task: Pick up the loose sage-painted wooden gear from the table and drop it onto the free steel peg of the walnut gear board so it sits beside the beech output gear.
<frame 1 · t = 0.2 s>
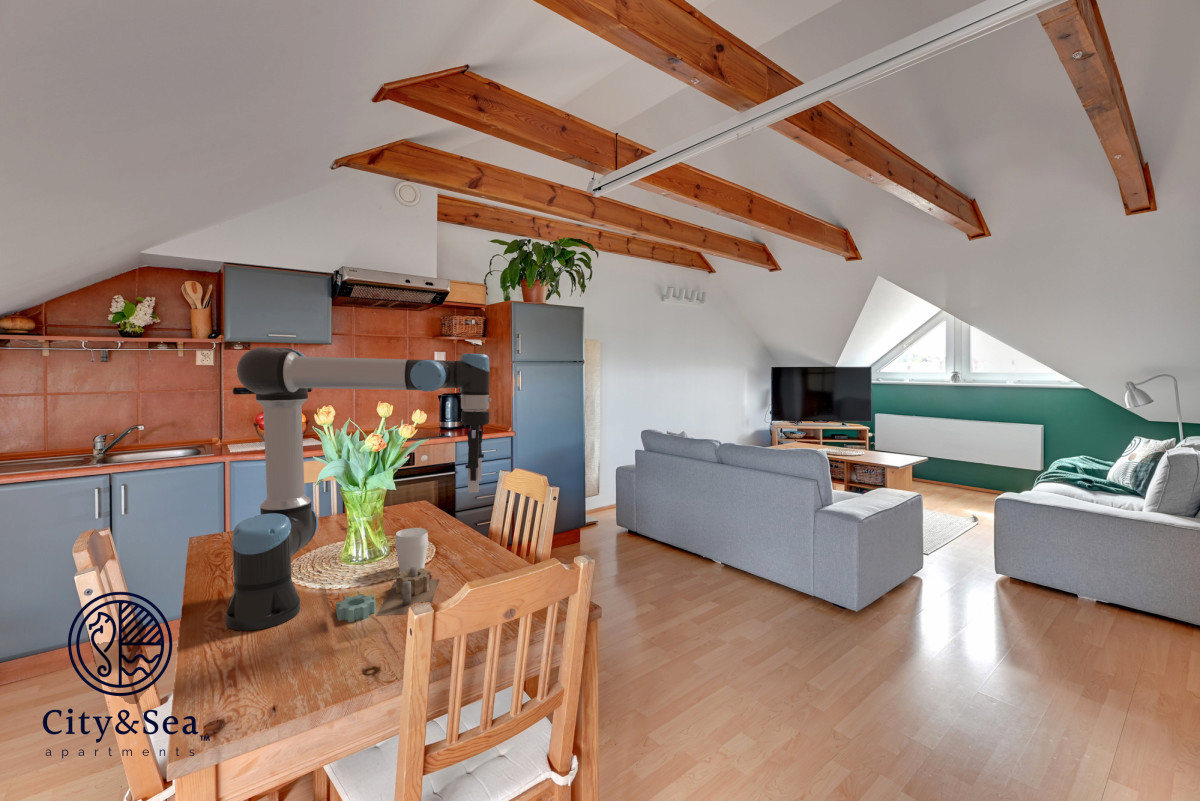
hand: (475, 486, 146), 28 cm above the table, fingers open, 13 cm apart
output gear: (413, 588, 141), resting on gear board
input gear: (356, 617, 127), on the table
gear board: (410, 600, 136), on the table
cup: (412, 573, 155), on the table
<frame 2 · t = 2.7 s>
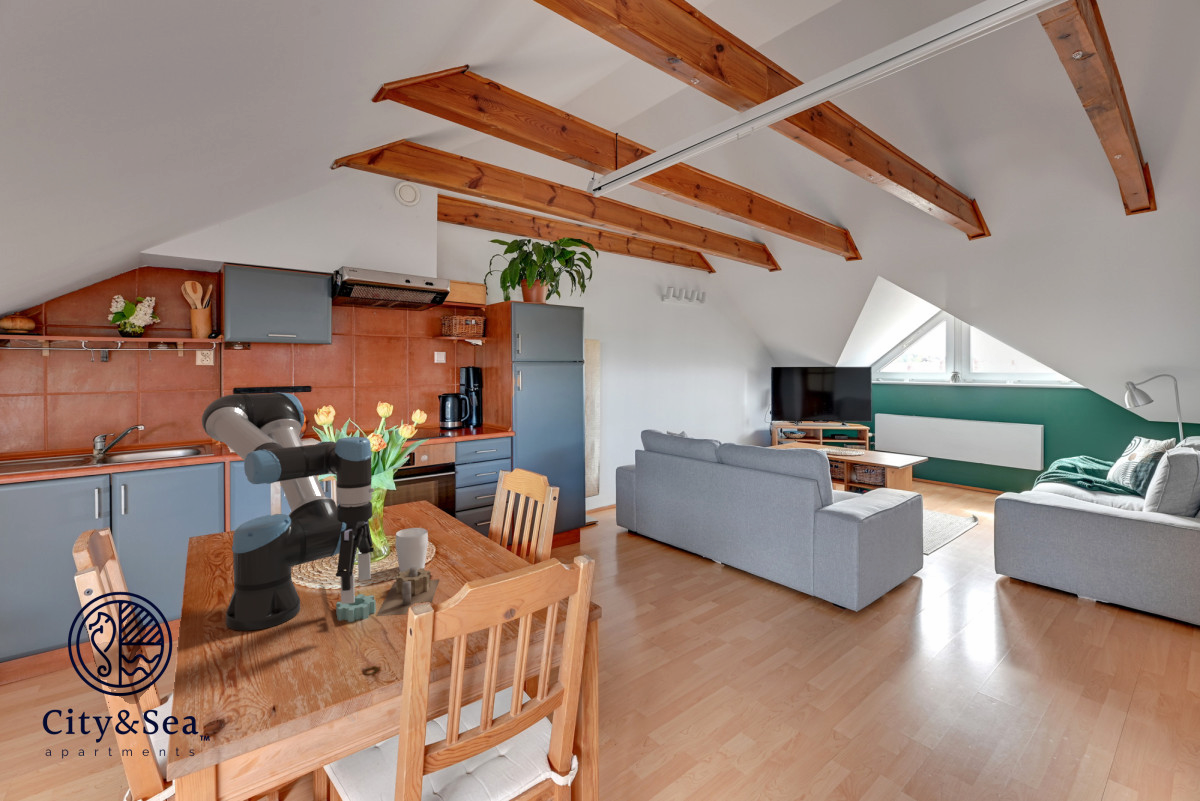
hand: (356, 590, 126), 7 cm above the table, fingers open, 13 cm apart
nothing on the table moved.
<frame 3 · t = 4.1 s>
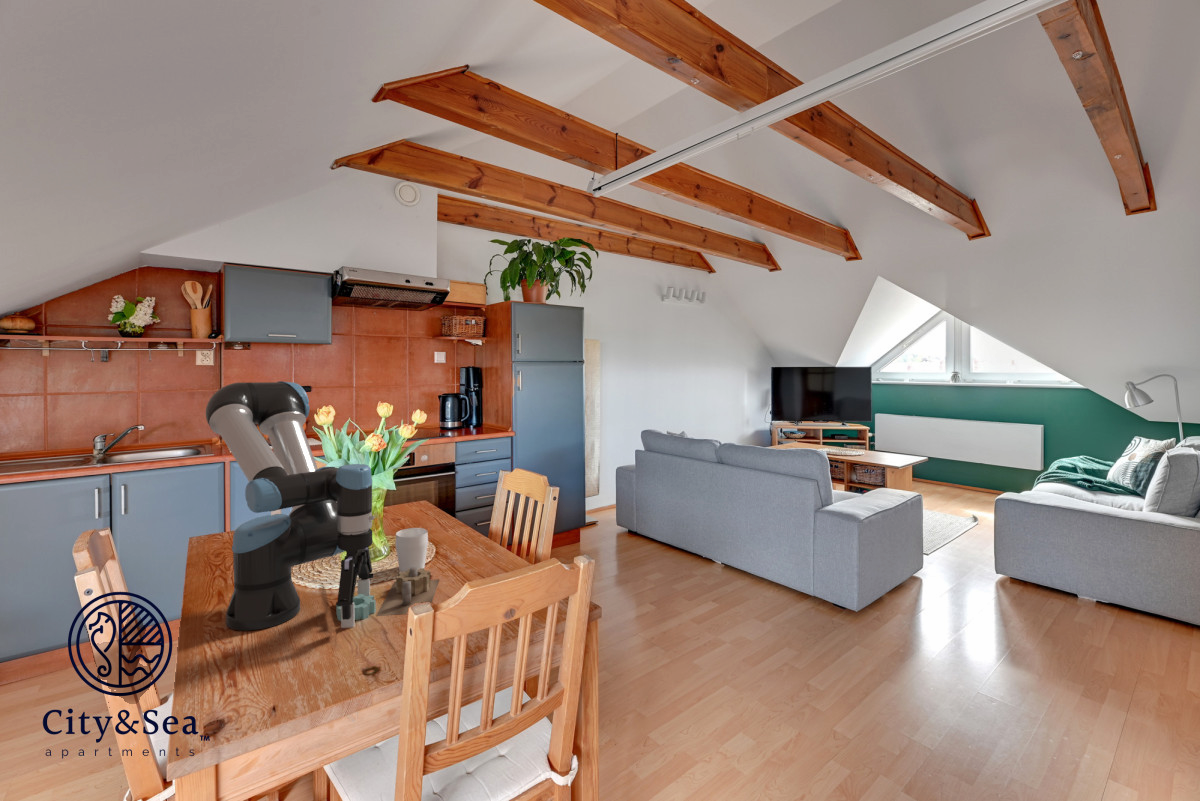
hand: (356, 617, 127), 0 cm above the table, fingers open, 12 cm apart
nothing on the table moved.
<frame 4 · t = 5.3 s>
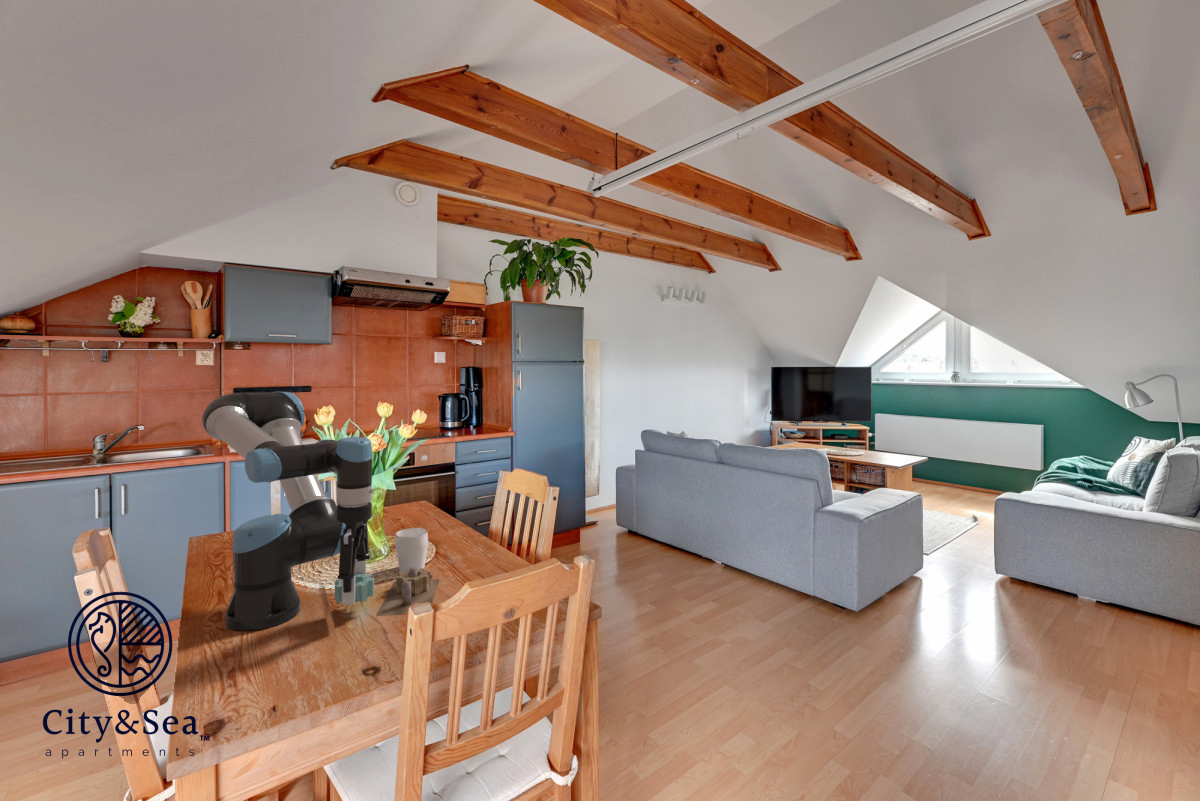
hand: (354, 594, 127), 6 cm above the table, fingers closed on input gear, 9 cm apart
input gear: (354, 596, 127), point 5 cm above the table, touching gripper
everything else where it was.
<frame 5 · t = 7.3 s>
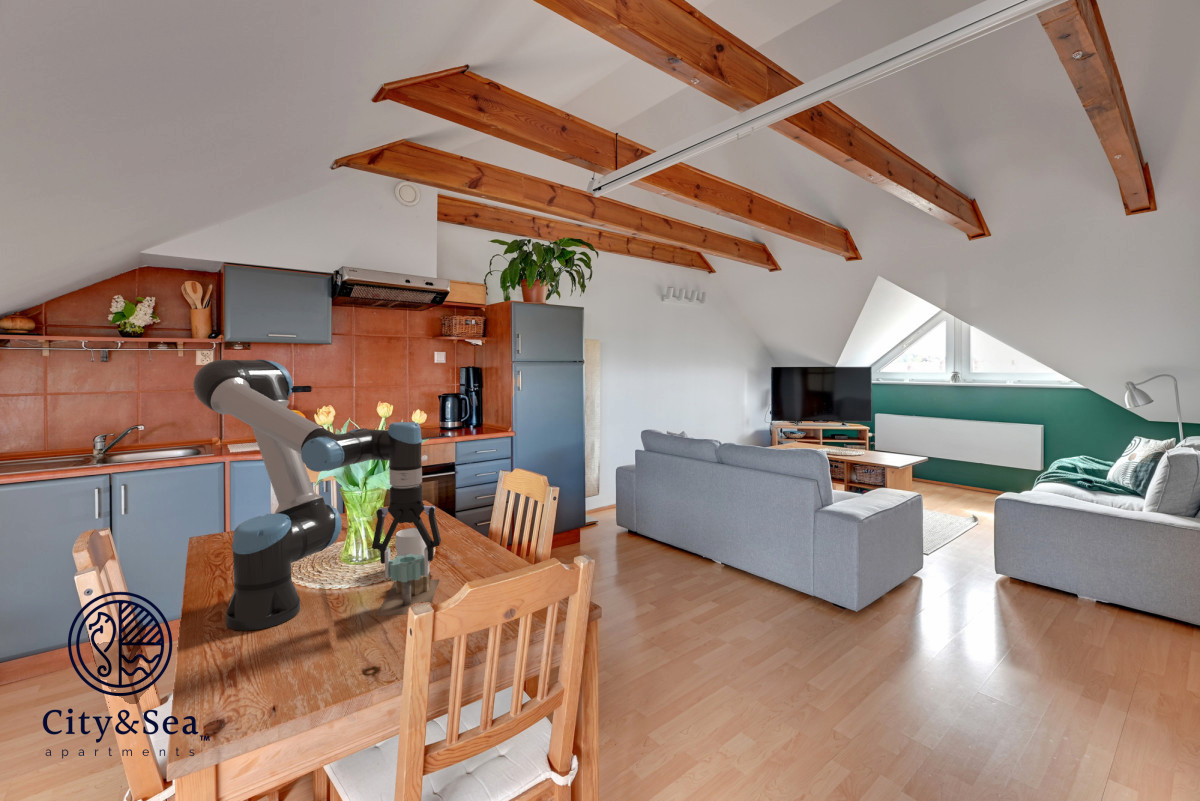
hand: (407, 574, 131), 9 cm above the table, fingers closed on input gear, 9 cm apart
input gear: (407, 575, 131), point 9 cm above the table, touching gripper
everything else where it was.
when the fingers open (3 cm above the table, at t = 9.3 s): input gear drops 1 cm, resting on gear board.
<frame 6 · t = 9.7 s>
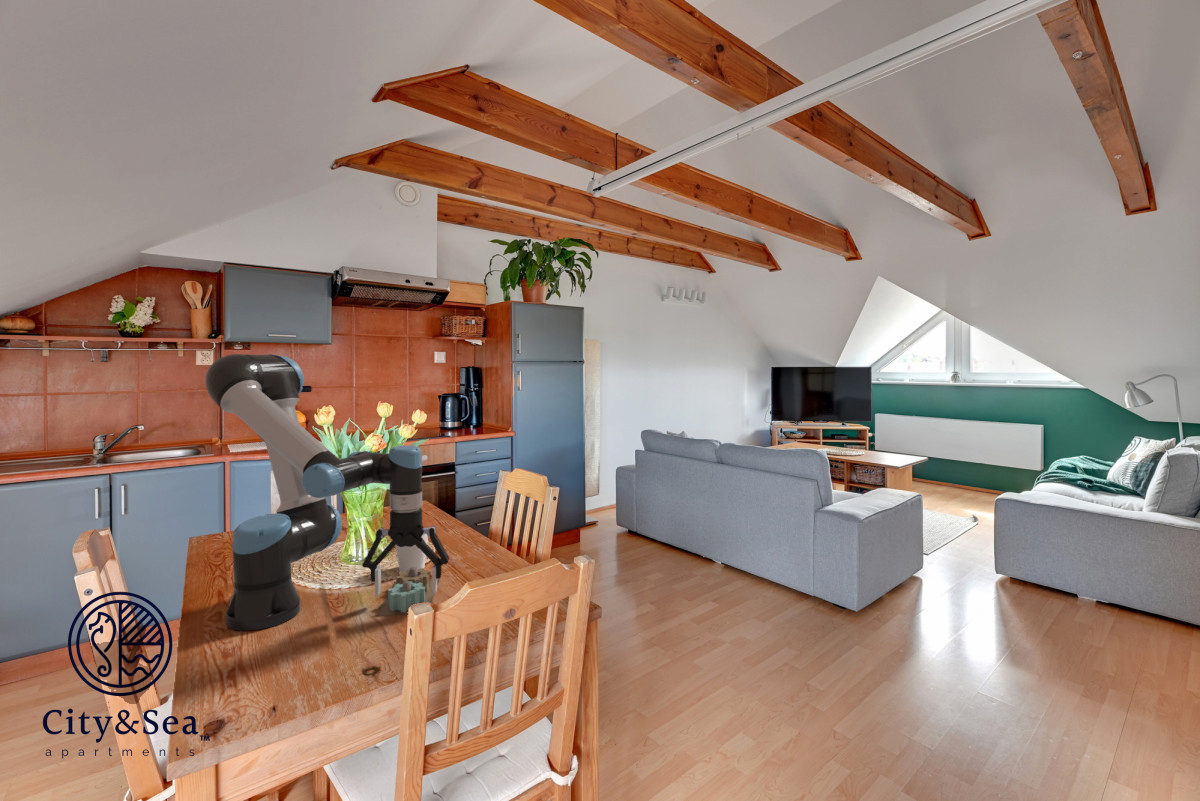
hand: (406, 592, 132), 4 cm above the table, fingers open, 13 cm apart
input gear: (406, 604, 132), point 1 cm above the table, touching gear board
everything else where it was.
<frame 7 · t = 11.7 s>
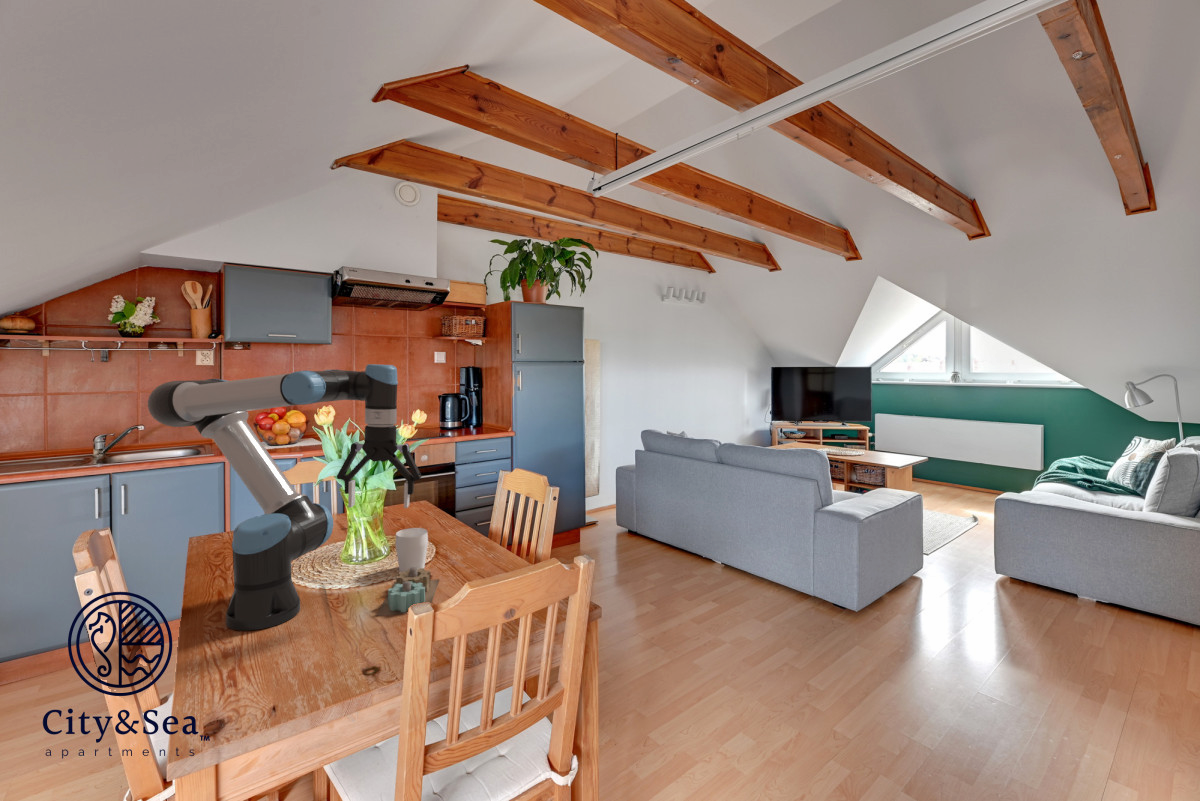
hand: (379, 506, 136), 24 cm above the table, fingers open, 13 cm apart
nothing on the table moved.
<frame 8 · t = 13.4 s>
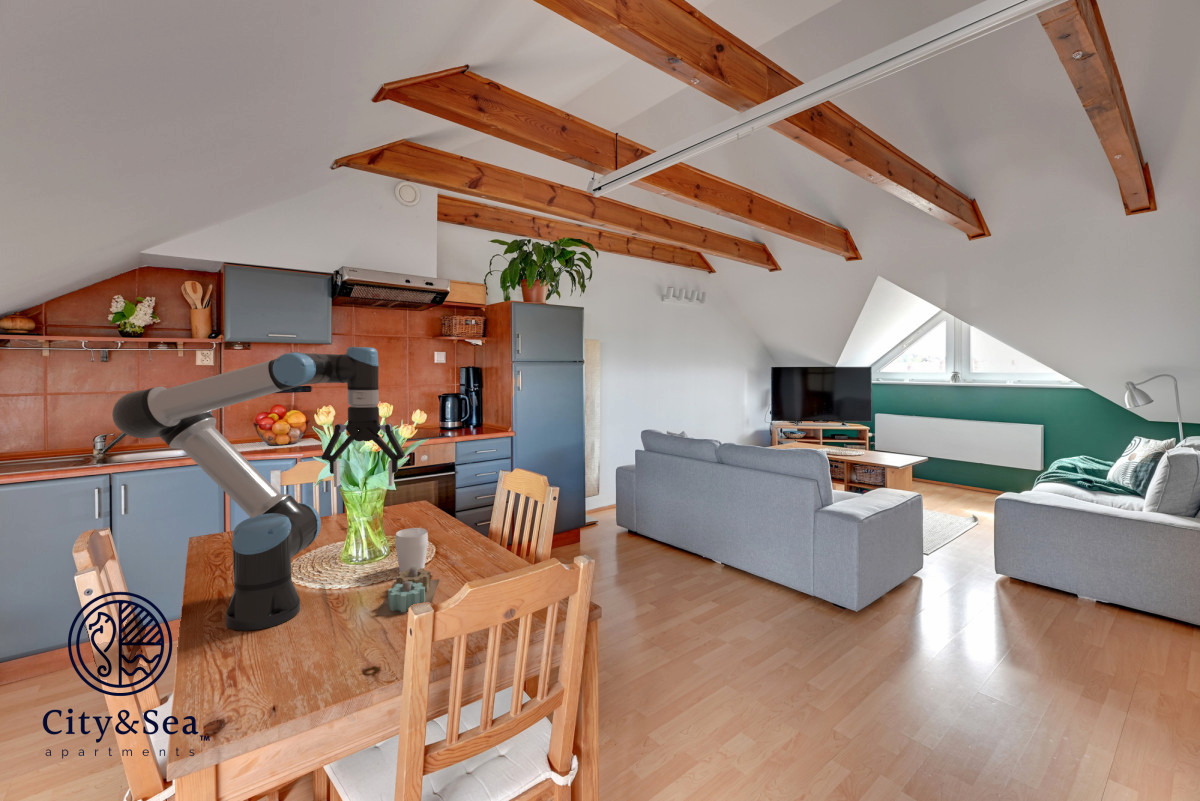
hand: (364, 485, 140), 29 cm above the table, fingers open, 13 cm apart
nothing on the table moved.
at the end: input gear 0.1 cm from the target spot on the gear board, point 1.2 cm above the gear board's base; the gripper is holding nothing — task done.
